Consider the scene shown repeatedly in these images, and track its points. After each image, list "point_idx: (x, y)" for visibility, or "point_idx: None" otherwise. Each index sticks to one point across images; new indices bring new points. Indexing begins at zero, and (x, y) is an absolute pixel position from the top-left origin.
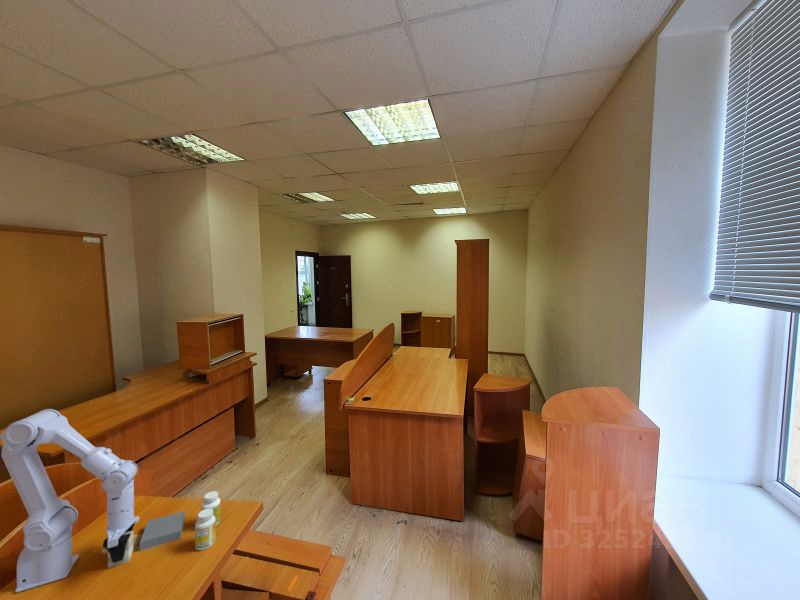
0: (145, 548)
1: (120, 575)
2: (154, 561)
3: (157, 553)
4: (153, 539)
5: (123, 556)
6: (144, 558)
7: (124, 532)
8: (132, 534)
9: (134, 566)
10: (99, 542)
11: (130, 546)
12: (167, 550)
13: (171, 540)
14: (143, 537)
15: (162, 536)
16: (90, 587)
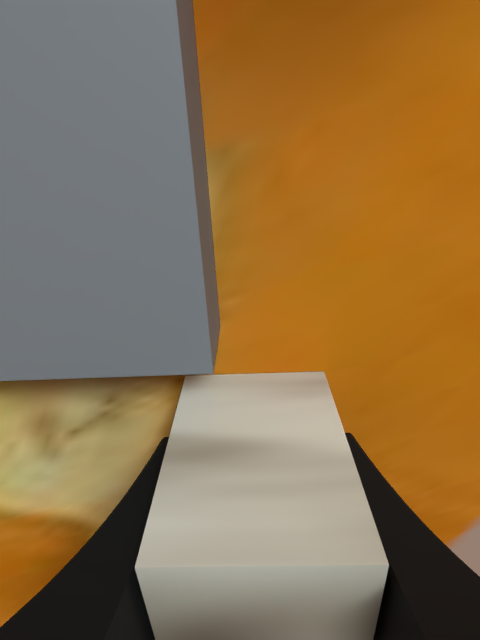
0: (216, 288)
1: (460, 385)
2: (473, 146)
3: (348, 145)
4: (201, 237)
5: (363, 451)
6: (354, 261)
7: (141, 626)
8: (189, 533)
9: (418, 316)
10: (21, 563)
11: (281, 447)
12: (360, 23)
13: (188, 4)
14: (129, 359)
15: (186, 120)
16: (451, 504)
